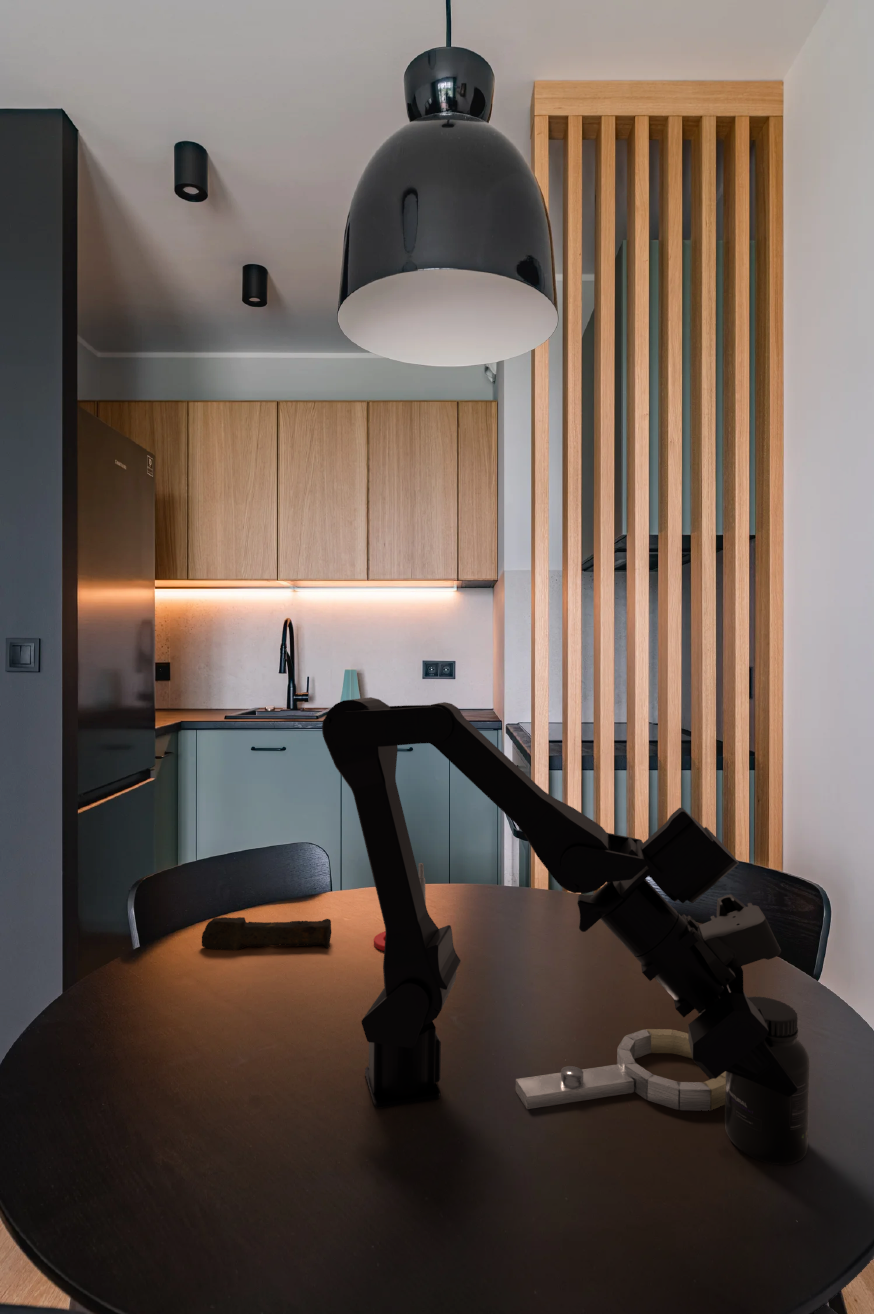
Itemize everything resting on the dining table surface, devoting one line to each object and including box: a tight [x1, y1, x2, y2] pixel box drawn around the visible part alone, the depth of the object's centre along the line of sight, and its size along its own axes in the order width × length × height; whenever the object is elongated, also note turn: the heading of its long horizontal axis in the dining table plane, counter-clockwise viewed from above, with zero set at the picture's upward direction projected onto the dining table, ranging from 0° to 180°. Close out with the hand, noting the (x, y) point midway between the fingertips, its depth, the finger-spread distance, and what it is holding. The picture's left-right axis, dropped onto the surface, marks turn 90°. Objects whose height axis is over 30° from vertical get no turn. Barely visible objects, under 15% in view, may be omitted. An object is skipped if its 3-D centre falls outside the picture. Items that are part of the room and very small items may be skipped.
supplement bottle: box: [724, 996, 810, 1166], centre depth 65 cm, size 7×7×12 cm
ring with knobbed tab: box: [645, 1028, 726, 1111], centre depth 76 cm, size 13×12×2 cm
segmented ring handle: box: [515, 1029, 711, 1112], centre depth 73 cm, size 17×12×2 cm
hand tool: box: [201, 916, 332, 951], centre depth 108 cm, size 19×4×5 cm, turn 94°
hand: (783, 1070), depth 64 cm, fingers closed on supplement bottle, 7 cm apart
